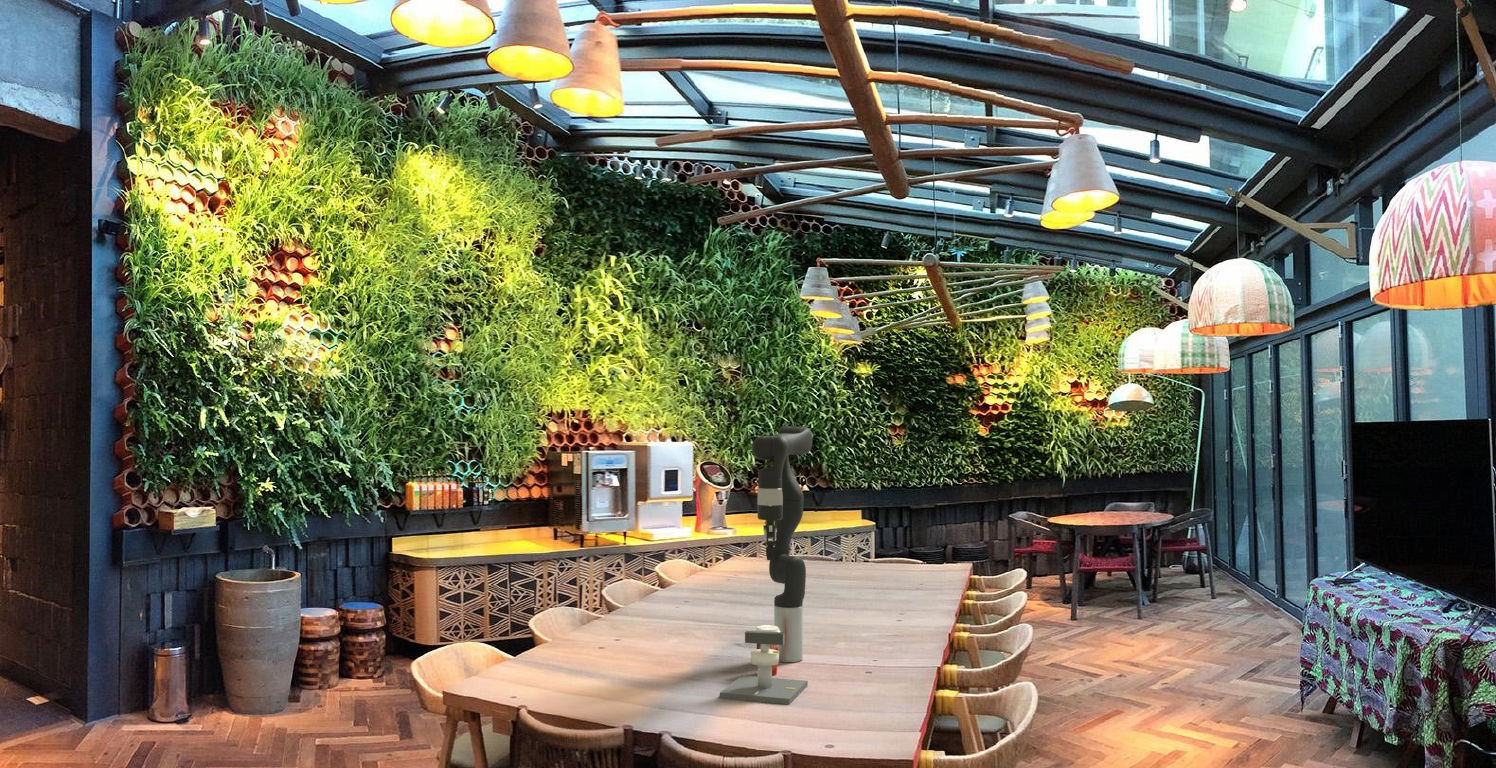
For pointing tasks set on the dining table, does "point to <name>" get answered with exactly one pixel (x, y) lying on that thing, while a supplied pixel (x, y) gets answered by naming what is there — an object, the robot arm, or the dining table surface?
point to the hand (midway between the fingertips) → (770, 558)
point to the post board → (764, 688)
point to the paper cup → (771, 646)
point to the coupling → (765, 647)
